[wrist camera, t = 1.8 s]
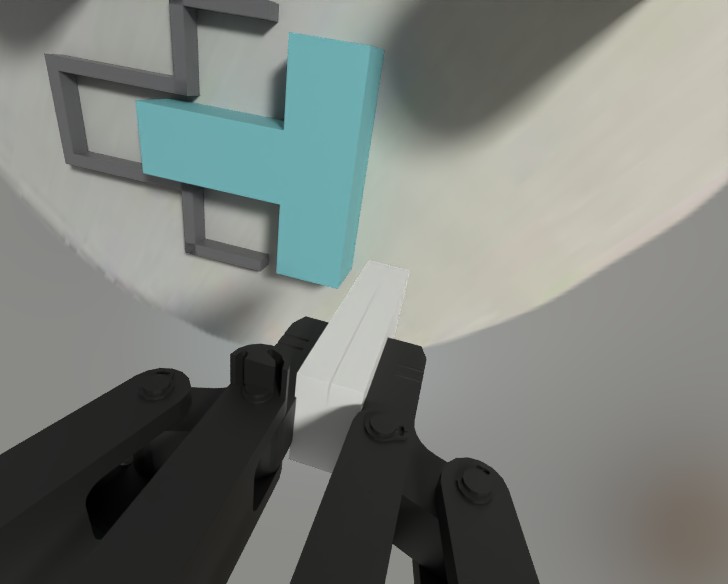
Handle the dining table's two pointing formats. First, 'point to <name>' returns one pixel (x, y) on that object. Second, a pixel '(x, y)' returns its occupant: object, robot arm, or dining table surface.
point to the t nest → (184, 82)
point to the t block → (284, 152)
